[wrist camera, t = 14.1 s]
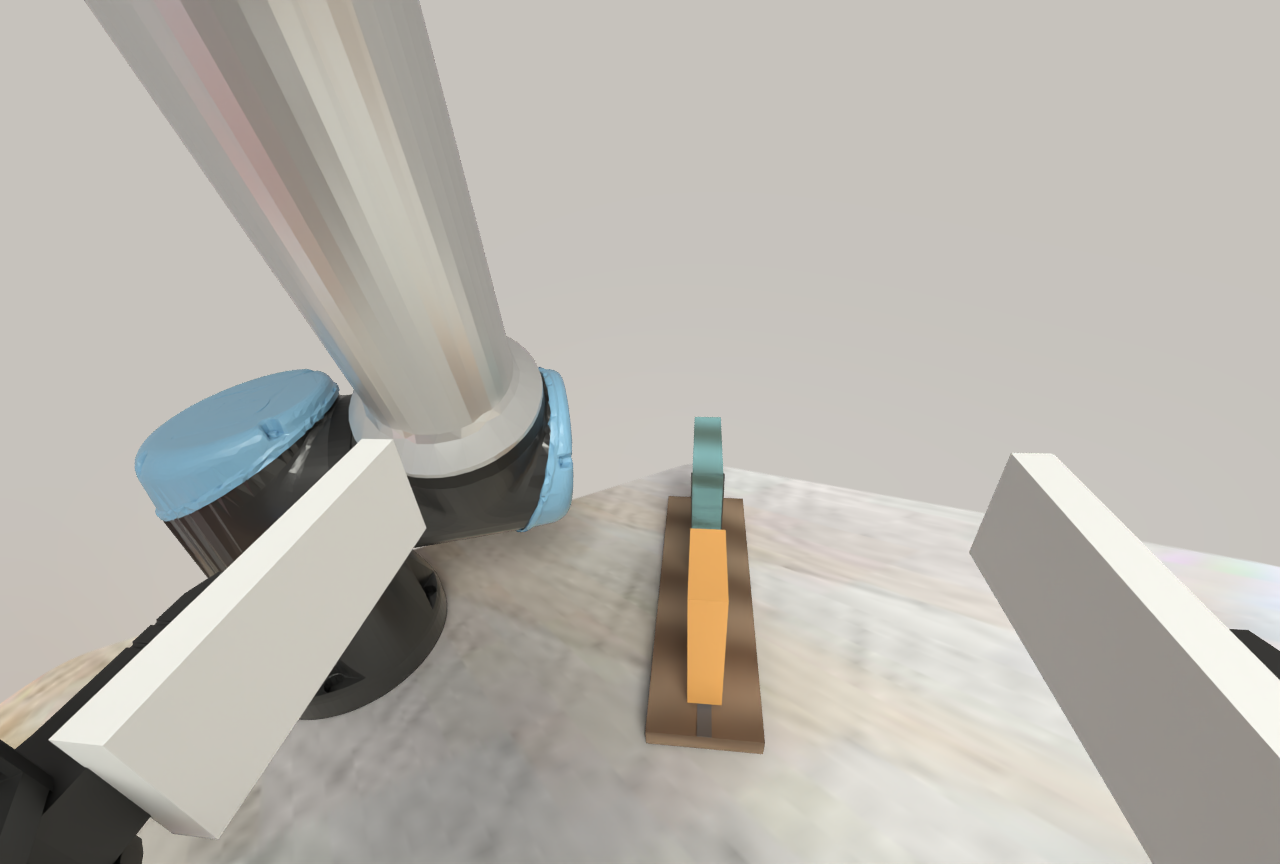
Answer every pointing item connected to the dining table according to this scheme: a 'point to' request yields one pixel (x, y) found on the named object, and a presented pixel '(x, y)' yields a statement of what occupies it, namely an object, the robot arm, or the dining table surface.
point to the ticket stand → (667, 704)
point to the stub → (706, 616)
